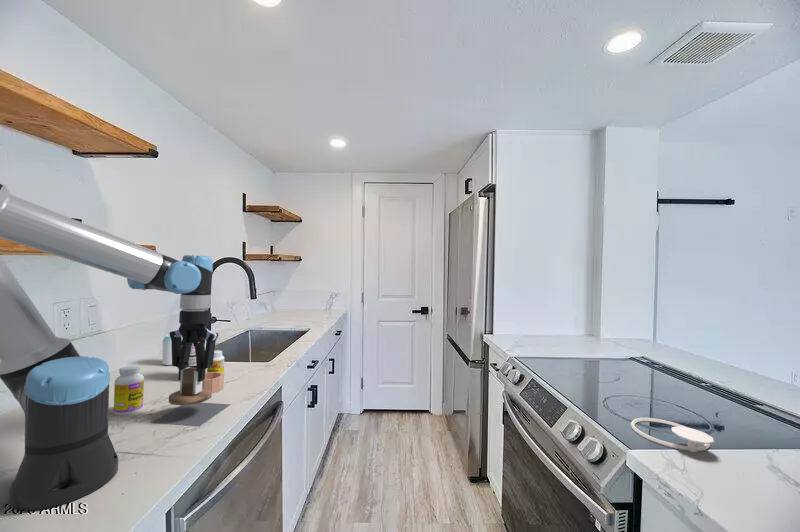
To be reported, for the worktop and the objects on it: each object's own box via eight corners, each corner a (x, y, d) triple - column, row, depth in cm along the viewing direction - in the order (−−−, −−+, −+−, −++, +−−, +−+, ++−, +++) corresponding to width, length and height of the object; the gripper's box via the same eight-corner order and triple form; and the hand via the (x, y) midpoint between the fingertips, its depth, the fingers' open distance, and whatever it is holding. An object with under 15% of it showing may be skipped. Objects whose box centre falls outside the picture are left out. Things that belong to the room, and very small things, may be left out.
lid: (195, 406, 91) (197, 375, 91) (159, 403, 92) (160, 373, 92) (219, 393, 101) (220, 365, 101) (186, 390, 102) (188, 363, 102)
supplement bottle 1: (126, 418, 94) (127, 371, 94) (107, 415, 95) (108, 369, 95) (149, 408, 100) (150, 364, 100) (130, 405, 102) (131, 362, 101)
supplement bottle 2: (203, 381, 123) (204, 353, 123) (212, 376, 129) (213, 349, 129) (218, 382, 123) (218, 353, 123) (227, 376, 128) (227, 350, 128)
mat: (199, 427, 89) (199, 426, 89) (150, 424, 91) (150, 422, 91) (230, 405, 103) (230, 404, 103) (187, 402, 104) (187, 401, 104)
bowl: (212, 396, 110) (213, 381, 110) (187, 394, 111) (188, 379, 111) (228, 386, 118) (228, 372, 118) (205, 385, 119) (205, 371, 119)
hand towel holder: (677, 408, 100) (743, 445, 80) (676, 422, 100) (743, 463, 80) (617, 405, 101) (668, 440, 81) (617, 419, 101) (668, 458, 81)
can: (186, 362, 145) (187, 334, 145) (172, 366, 139) (173, 337, 138) (172, 360, 147) (173, 333, 147) (158, 365, 140) (158, 336, 140)
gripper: (230, 309, 100) (226, 389, 99) (178, 306, 101) (174, 385, 101) (213, 312, 92) (209, 399, 92) (158, 309, 94) (153, 394, 93)
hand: (191, 391), depth 96 cm, fingers closed on lid, 3 cm apart
